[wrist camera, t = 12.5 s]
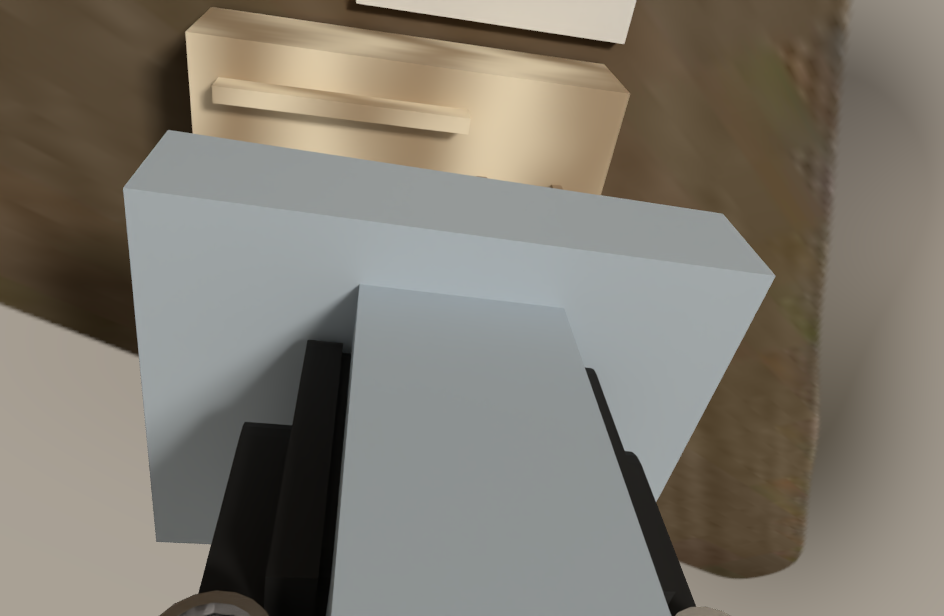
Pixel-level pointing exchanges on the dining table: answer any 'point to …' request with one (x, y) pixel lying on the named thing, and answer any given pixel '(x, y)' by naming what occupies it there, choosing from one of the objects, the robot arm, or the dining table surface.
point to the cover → (433, 363)
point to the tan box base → (404, 99)
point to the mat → (532, 14)
